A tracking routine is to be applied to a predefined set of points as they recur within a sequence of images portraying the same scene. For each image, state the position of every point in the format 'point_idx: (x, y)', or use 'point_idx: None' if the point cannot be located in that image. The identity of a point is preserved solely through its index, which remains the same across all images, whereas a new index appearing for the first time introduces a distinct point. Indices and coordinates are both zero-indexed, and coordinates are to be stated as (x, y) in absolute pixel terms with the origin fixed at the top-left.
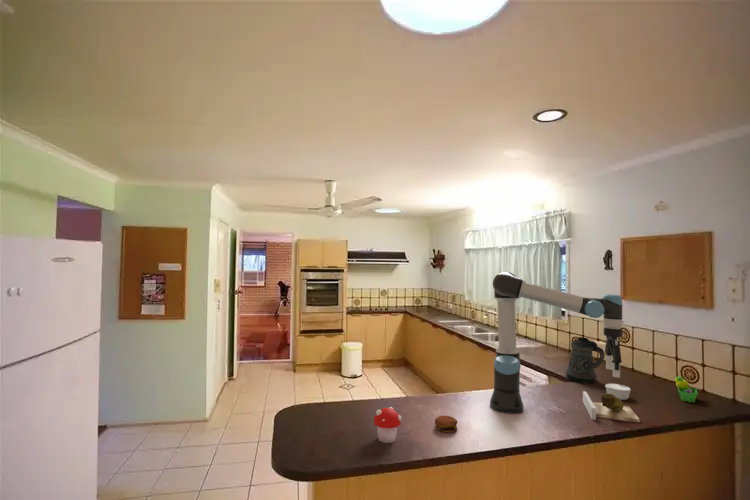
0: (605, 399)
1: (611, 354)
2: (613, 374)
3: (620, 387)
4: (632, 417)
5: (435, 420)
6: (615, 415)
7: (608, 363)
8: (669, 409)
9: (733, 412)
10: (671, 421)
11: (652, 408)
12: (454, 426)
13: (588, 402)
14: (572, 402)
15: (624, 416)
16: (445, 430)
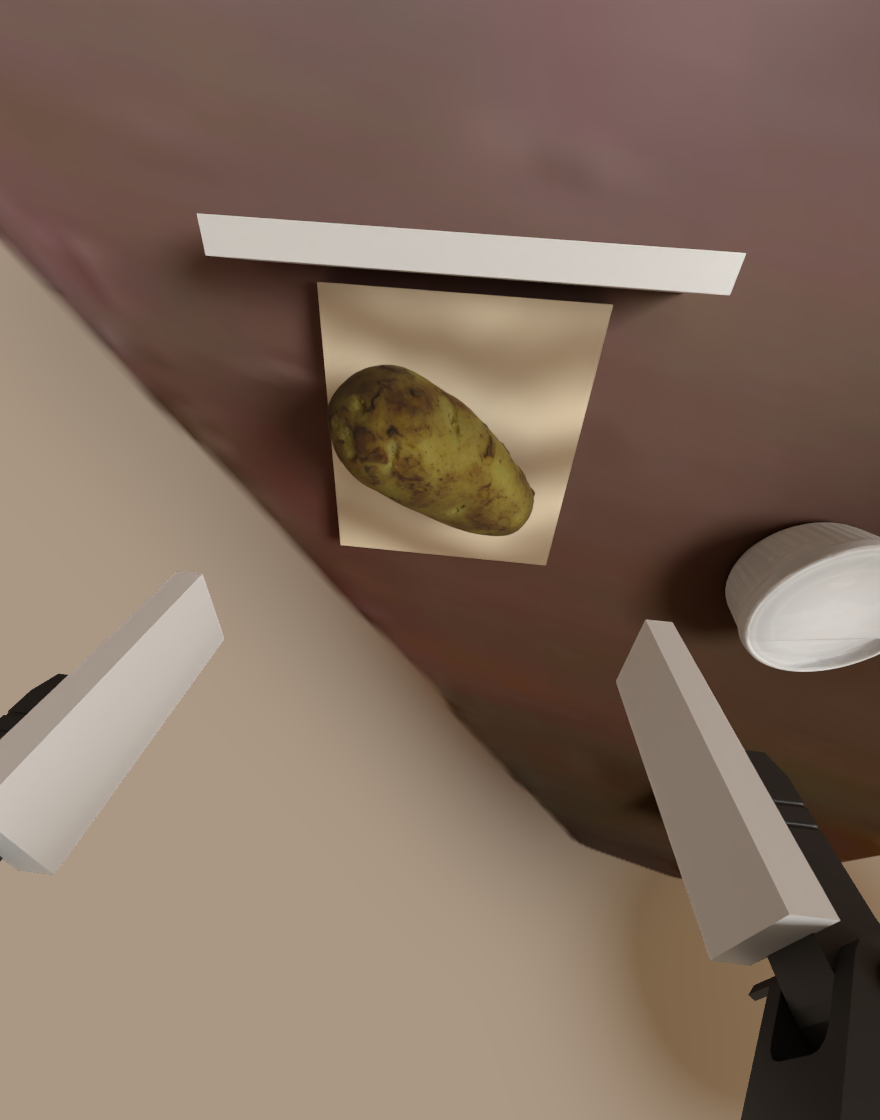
0: (335, 394)
1: (771, 1013)
2: (155, 598)
3: (818, 627)
4: (351, 518)
5: None
6: None
7: (673, 728)
8: (584, 708)
9: (585, 833)
10: (426, 661)
11: (586, 658)
12: None
13: (385, 227)
14: (656, 112)
15: (348, 480)
16: None
